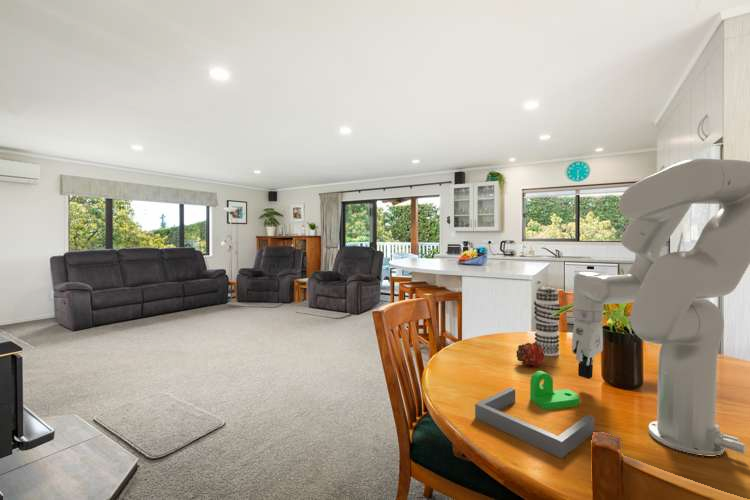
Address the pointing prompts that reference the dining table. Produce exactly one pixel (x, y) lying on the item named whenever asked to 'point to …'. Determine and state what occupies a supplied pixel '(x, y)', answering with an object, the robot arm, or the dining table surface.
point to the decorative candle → (547, 320)
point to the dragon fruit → (530, 354)
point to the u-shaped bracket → (531, 426)
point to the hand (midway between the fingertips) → (585, 376)
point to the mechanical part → (550, 393)
